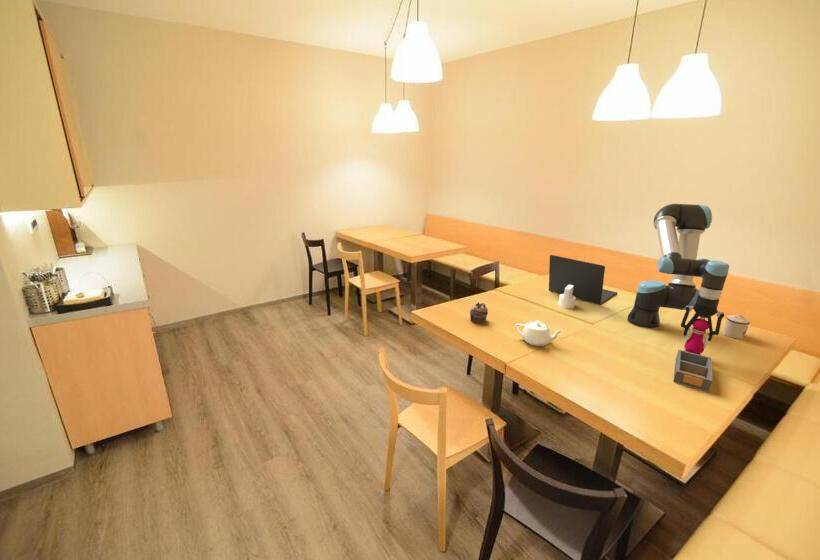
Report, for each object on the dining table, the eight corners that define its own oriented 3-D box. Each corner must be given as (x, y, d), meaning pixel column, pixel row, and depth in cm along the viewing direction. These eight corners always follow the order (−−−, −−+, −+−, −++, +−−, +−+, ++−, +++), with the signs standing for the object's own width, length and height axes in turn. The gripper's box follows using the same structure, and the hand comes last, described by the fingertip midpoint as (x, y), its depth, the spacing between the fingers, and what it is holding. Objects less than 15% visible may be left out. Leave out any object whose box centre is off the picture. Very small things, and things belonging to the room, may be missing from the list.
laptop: (617, 294, 248) (625, 255, 240) (596, 308, 225) (604, 266, 216) (567, 281, 271) (573, 246, 262) (544, 293, 247) (549, 254, 239)
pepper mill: (678, 352, 175) (689, 312, 168) (692, 351, 175) (704, 312, 169) (690, 360, 168) (702, 319, 161) (705, 360, 169) (717, 319, 162)
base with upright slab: (560, 301, 233) (563, 283, 229) (575, 305, 228) (579, 286, 224) (556, 306, 226) (559, 287, 222) (572, 309, 221) (575, 290, 217)
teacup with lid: (746, 341, 187) (754, 319, 183) (723, 336, 191) (730, 315, 187) (741, 331, 197) (748, 311, 193) (719, 327, 201) (725, 307, 197)
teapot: (511, 342, 181) (513, 322, 177) (516, 331, 193) (518, 312, 189) (559, 353, 172) (563, 332, 168) (562, 340, 184) (565, 320, 180)
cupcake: (486, 316, 209) (487, 300, 206) (487, 324, 200) (489, 307, 197) (468, 316, 210) (469, 299, 207) (469, 323, 201) (470, 306, 197)
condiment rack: (673, 382, 151) (676, 371, 150) (675, 359, 169) (678, 349, 167) (708, 392, 145) (712, 381, 143) (707, 367, 162) (710, 357, 161)
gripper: (681, 294, 165) (668, 341, 172) (738, 304, 154) (722, 354, 162) (682, 289, 171) (669, 335, 178) (736, 299, 160) (721, 347, 167)
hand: (694, 344), depth 170 cm, fingers closed on pepper mill, 6 cm apart
